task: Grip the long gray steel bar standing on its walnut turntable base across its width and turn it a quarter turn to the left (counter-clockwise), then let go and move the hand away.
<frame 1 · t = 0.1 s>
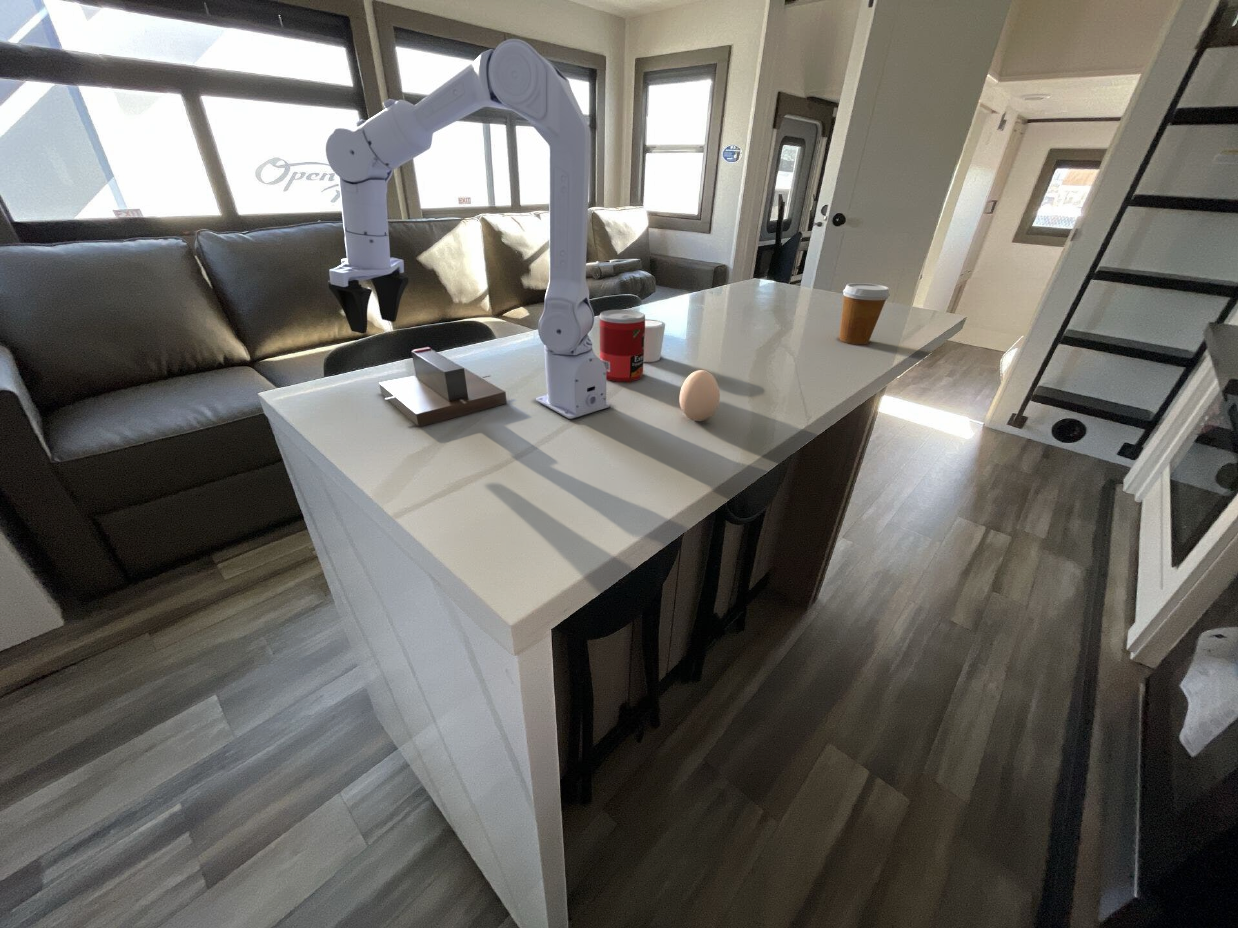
hand: (374, 325, 77), 10 cm above the kitchen island, tool pointing down, fingers open, 7 cm apart
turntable: (443, 399, 79), on the kitchen island
canned food: (621, 376, 90), on the kitchen island
white cup: (646, 358, 99), on the kitchen island
egg: (696, 421, 73), on the kitchen island
disposable coffee cup: (853, 341, 113), on the kitchen island
gray steel bar: (438, 372, 76), point 4 cm above the kitchen island, hinge at 0.0°
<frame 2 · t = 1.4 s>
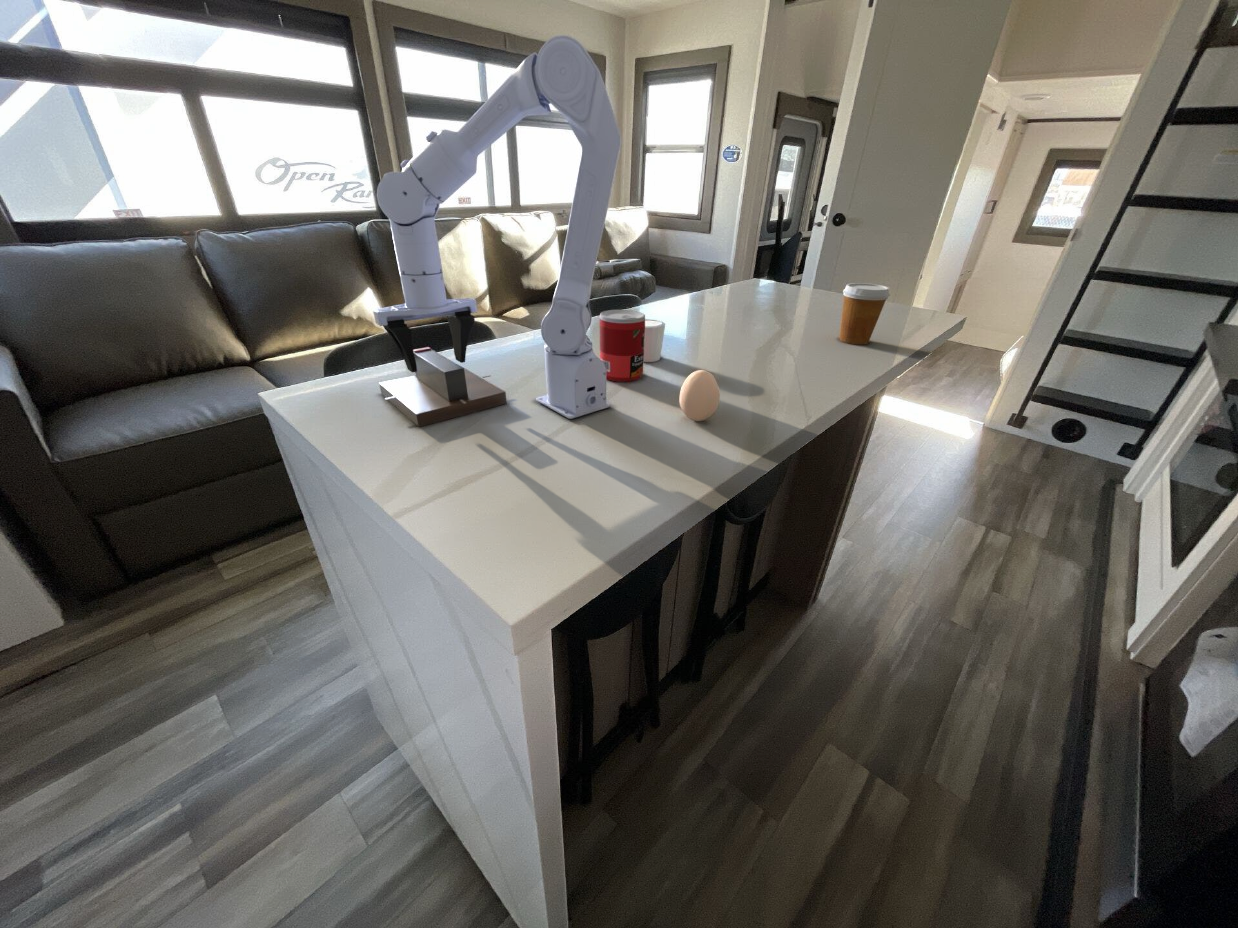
hand: (437, 365, 76), 6 cm above the kitchen island, tool pointing down, fingers open, 7 cm apart
nothing on the kitchen island moved.
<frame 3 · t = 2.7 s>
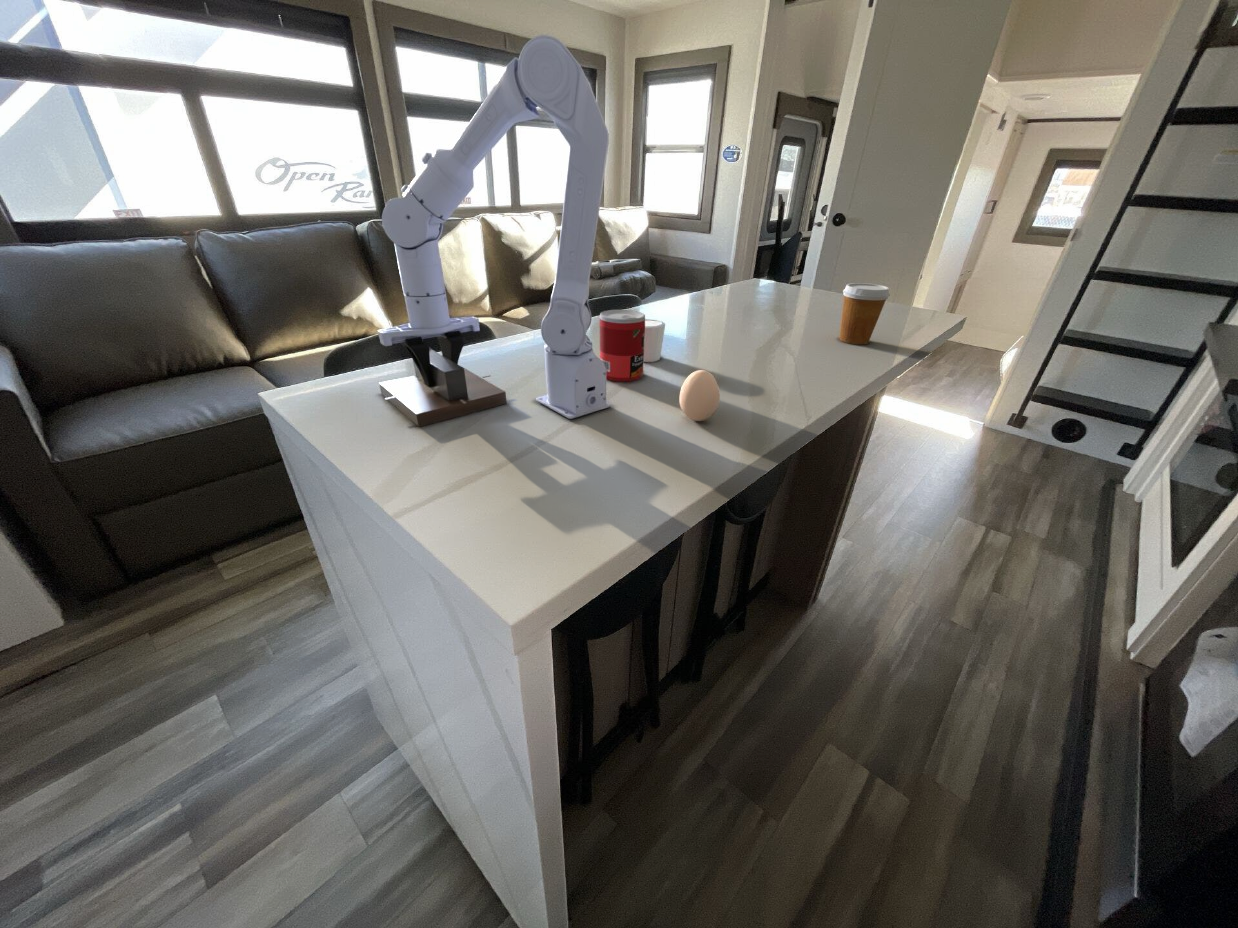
hand: (440, 382, 77), 3 cm above the kitchen island, tool pointing down, fingers closed on gray steel bar, 3 cm apart
gray steel bar: (438, 372, 76), point 4 cm above the kitchen island, hinge at 0.0°, touching gripper
everything else where it was.
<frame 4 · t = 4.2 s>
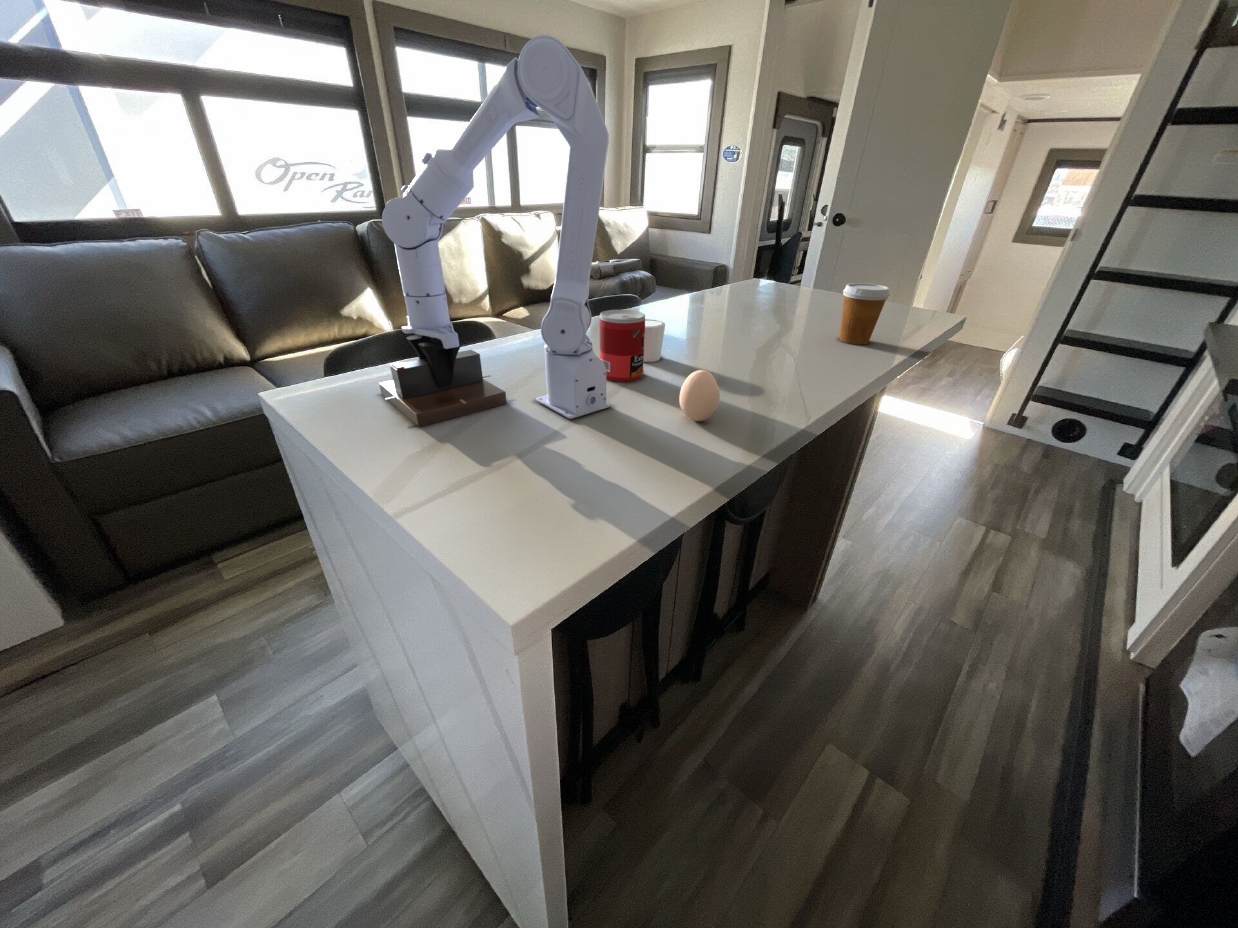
hand: (440, 383, 77), 3 cm above the kitchen island, tool pointing down, fingers closed on gray steel bar, 3 cm apart
gray steel bar: (438, 372, 76), point 4 cm above the kitchen island, hinge at 89.9°, touching gripper
everything else where it was.
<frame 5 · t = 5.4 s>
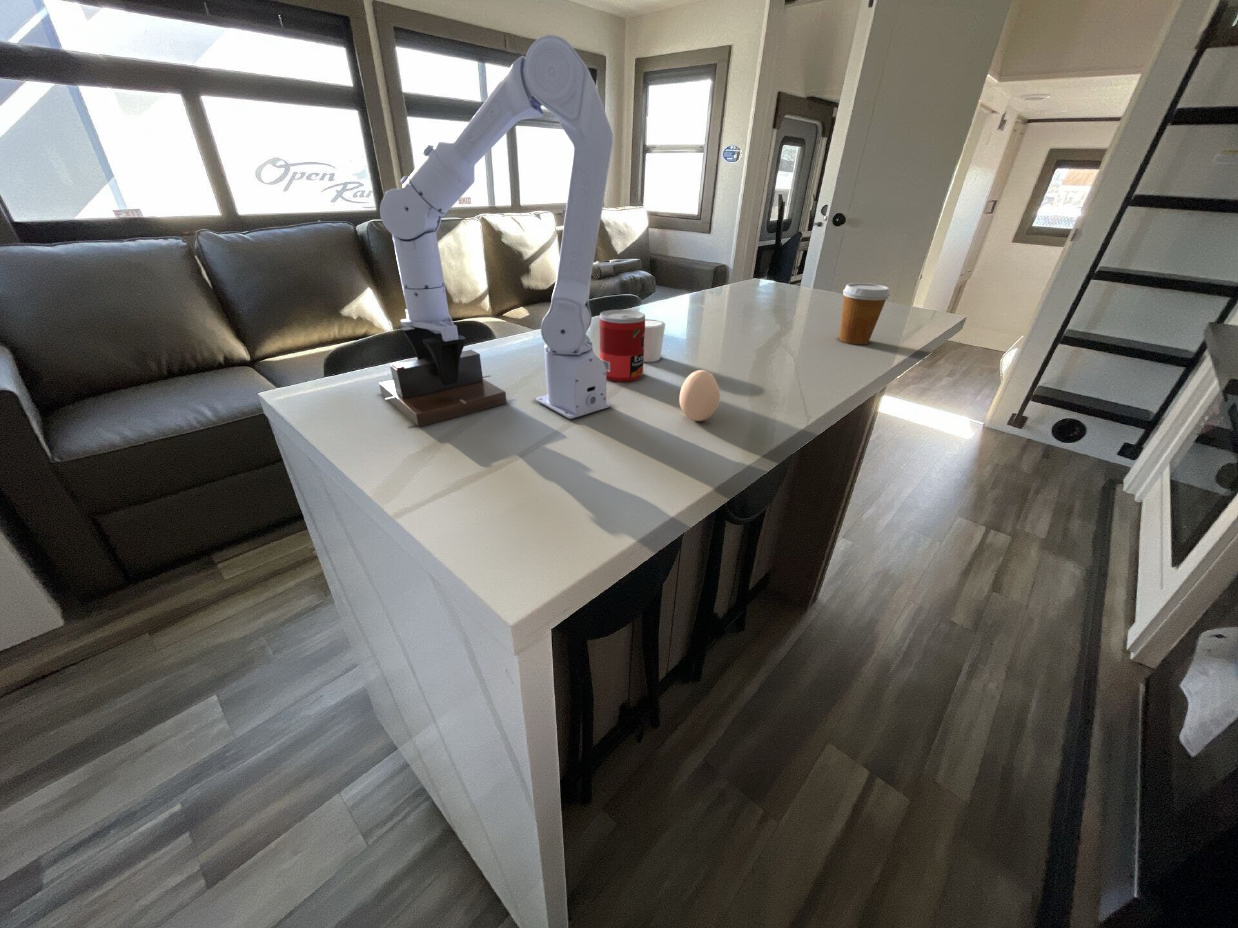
hand: (439, 376, 77), 4 cm above the kitchen island, tool pointing down, fingers open, 7 cm apart
gray steel bar: (438, 372, 76), point 4 cm above the kitchen island, hinge at 90.0°
everything else where it was.
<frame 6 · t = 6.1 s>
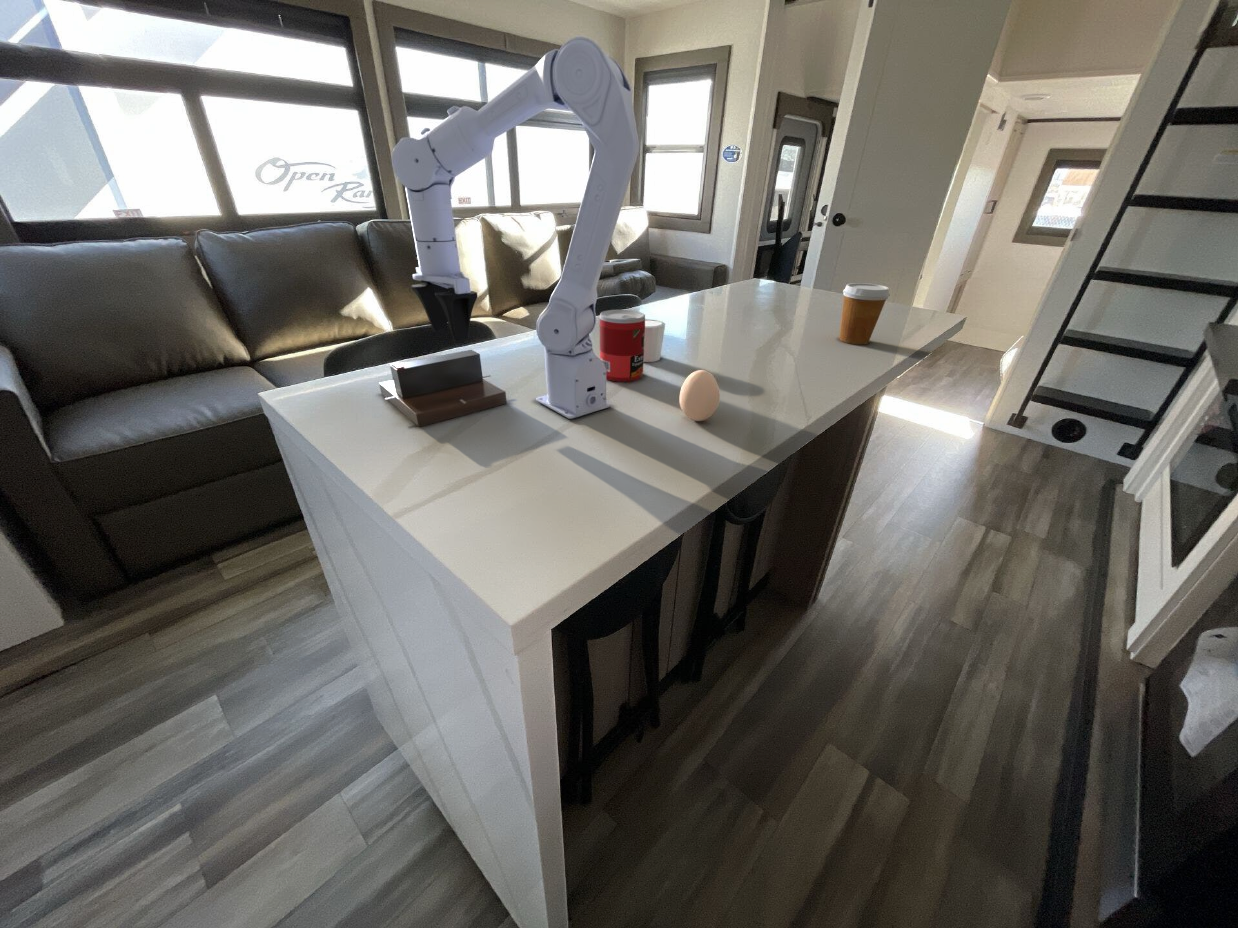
hand: (450, 334, 77), 9 cm above the kitchen island, tool pointing down, fingers open, 7 cm apart
nothing on the kitchen island moved.
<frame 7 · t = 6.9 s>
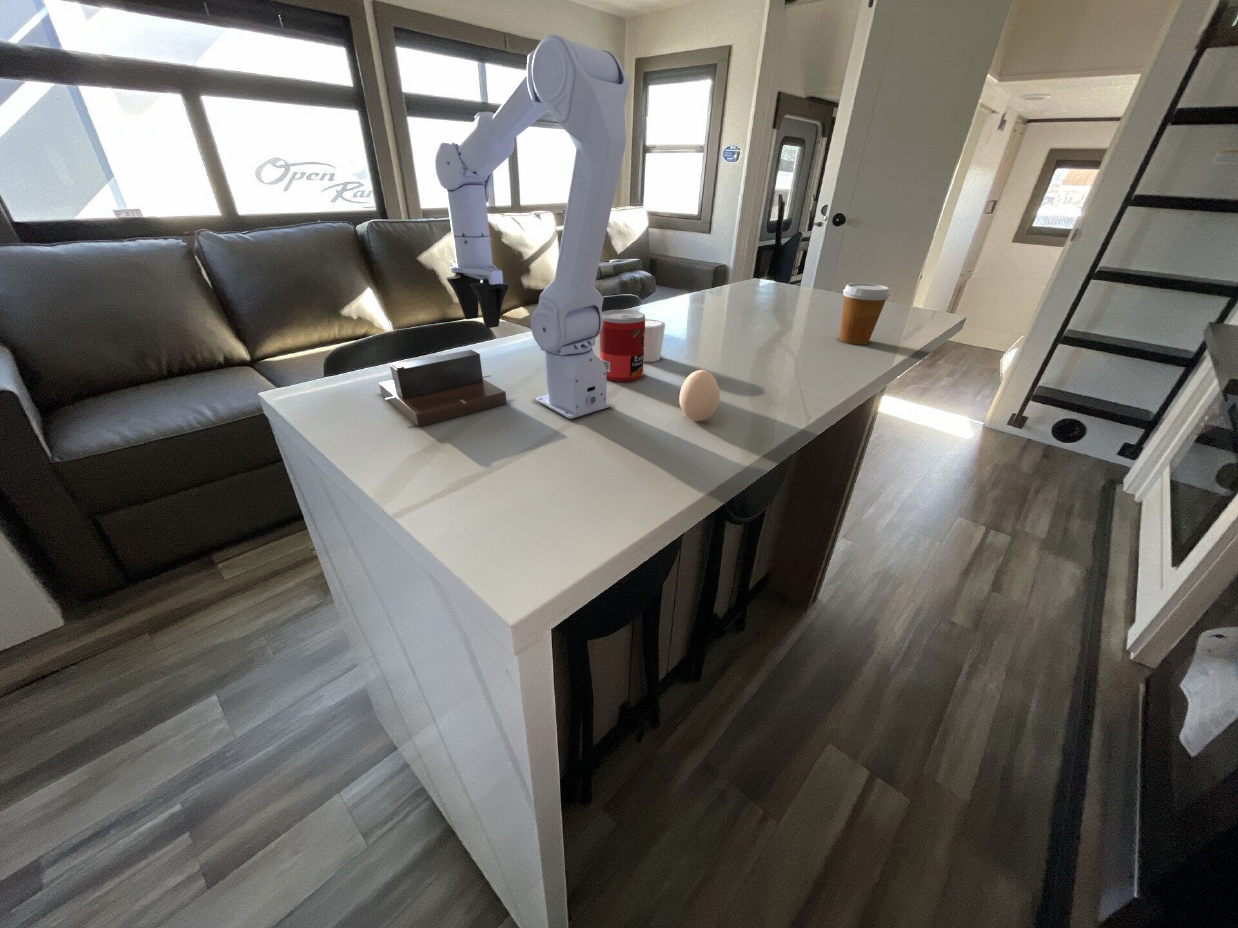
hand: (481, 322, 84), 9 cm above the kitchen island, tool pointing down, fingers open, 7 cm apart
nothing on the kitchen island moved.
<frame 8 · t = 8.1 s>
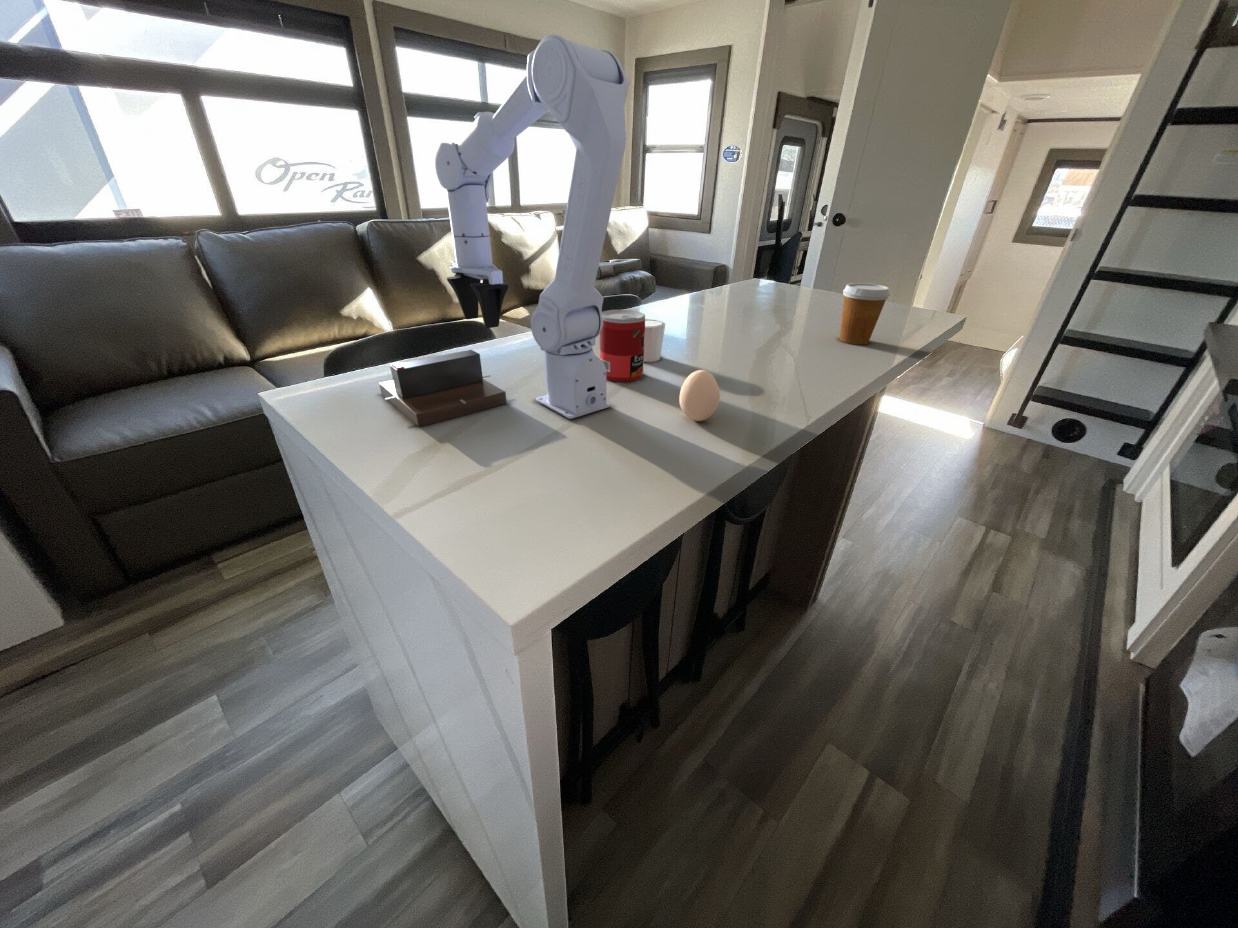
hand: (481, 322, 84), 9 cm above the kitchen island, tool pointing down, fingers open, 7 cm apart
nothing on the kitchen island moved.
at the end: gray steel bar at +90° (first picture: +0°); the gripper is holding nothing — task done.
